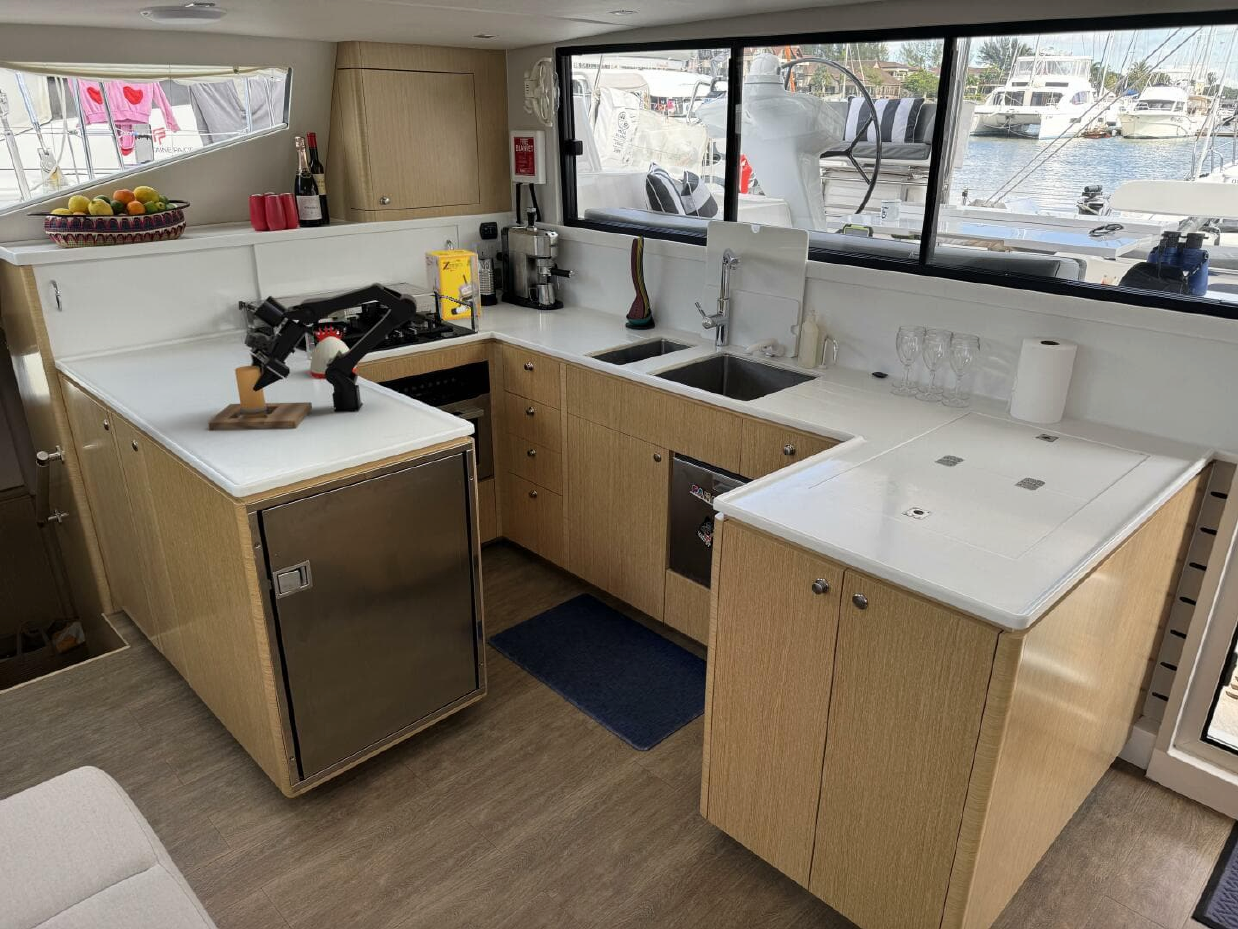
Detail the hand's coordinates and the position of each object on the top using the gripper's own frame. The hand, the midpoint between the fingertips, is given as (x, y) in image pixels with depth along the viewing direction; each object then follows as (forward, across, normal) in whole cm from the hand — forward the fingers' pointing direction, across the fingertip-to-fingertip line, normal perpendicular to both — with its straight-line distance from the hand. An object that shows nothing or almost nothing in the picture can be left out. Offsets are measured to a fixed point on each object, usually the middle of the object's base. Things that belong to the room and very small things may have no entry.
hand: (250, 386), depth 231 cm
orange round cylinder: (+7, 0, +6) cm, 9 cm away
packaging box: (-63, -95, +77) cm, 138 cm away
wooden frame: (+5, +1, +8) cm, 9 cm away
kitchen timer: (-15, -34, +29) cm, 48 cm away
